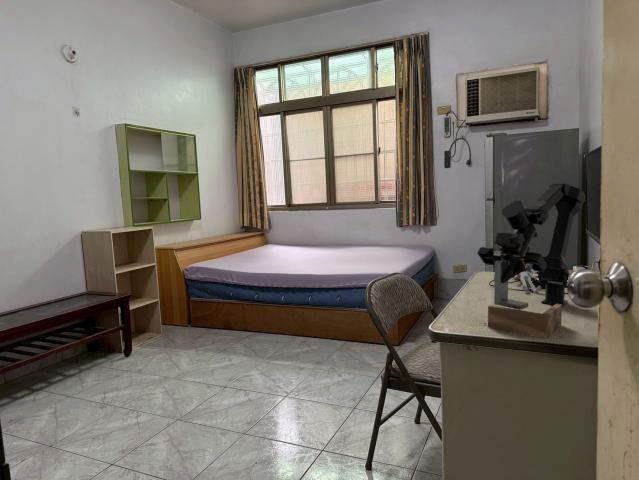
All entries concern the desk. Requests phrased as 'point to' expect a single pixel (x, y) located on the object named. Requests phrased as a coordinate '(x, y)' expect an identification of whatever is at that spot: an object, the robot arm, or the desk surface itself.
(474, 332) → the desk surface
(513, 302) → the bracket
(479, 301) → the desk surface
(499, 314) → the walls
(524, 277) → the toy
